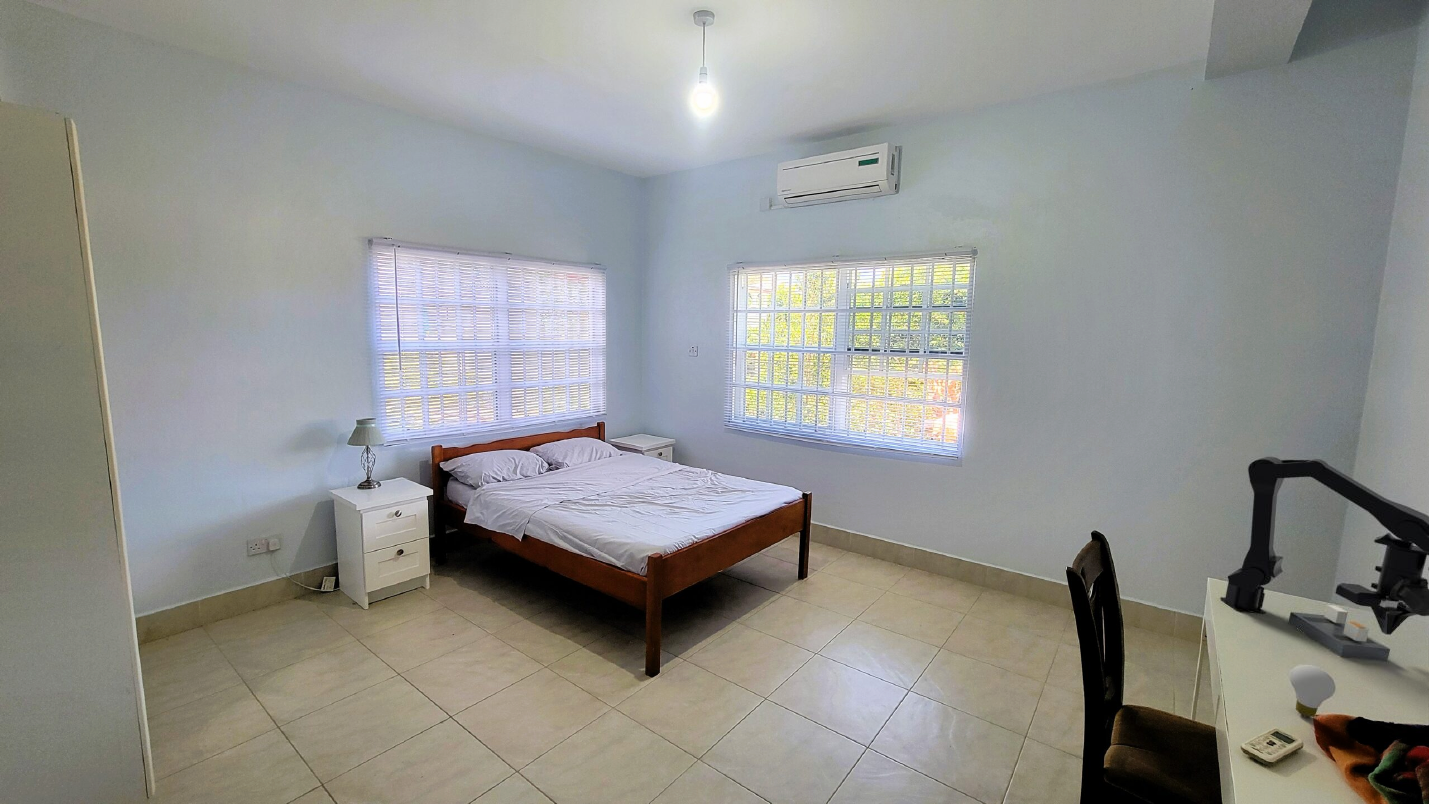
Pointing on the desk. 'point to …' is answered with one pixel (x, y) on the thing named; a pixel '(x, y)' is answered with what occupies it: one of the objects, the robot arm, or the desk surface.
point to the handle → (1335, 614)
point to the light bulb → (1311, 688)
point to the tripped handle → (1355, 631)
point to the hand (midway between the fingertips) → (1385, 633)
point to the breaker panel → (1337, 637)
